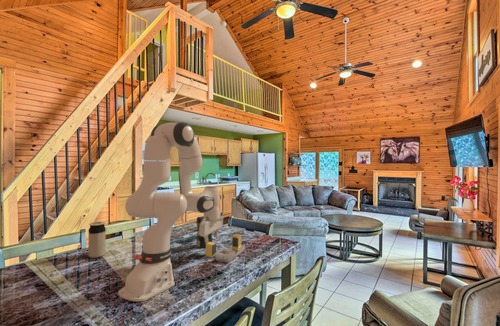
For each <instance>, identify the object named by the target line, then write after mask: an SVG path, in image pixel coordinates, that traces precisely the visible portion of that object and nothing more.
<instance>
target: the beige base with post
mask: <svg viewBox="0 0 500 326" xmlns="http://www.w3.org/2000/svg"><path fill="white" fill-rule="evenodd" d="M231 238H232V240H231V244H232V245H230V246H229V247H228V248H222V249H221V250H218V251H216V255H215V261H216V262H221V263H226V264H230V262H231V261H233V260H234V259H235V258H236V257H237V256H239V255H240V254H241V253H243V252H244V251H245V250H246V245H243V244H242V234H238V233H237V234H236V233H235V234H233V235H232V237H231Z"/></svg>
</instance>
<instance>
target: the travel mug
mask: <svg viewBox="0 0 500 326" xmlns="http://www.w3.org/2000/svg"><path fill="white" fill-rule="evenodd" d="M105 224H106V222H105V221H101V220H99V221H93V222H90V223H89V228H88V257H89V258H93V259H95V258H100V257H103V256H105V255H106V237H107V236H106V235H107V234H106V233H107V232H106V230H107V229H106V228H107V227H105V226H106V225H105Z"/></svg>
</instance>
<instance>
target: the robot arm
mask: <svg viewBox="0 0 500 326" xmlns="http://www.w3.org/2000/svg"><path fill="white" fill-rule="evenodd" d="M197 139H198V138H197V137H196V136H195V131H194V128H193V127H192V125H191V124H189V123H187V122H165V123H160V124H157V125H156V126H155V125H154V127H153V128H152V130H151V133H150V136H149V137H147V138H146V141H145V145H144V150H143V170H142V171H143V172H142V178H141V182H140V184H139V186H138V188H137V190H135V191H134V192H133V193H131V194H130V195H129V196H128V198H127V199H126V201H125V203H124V204H125V207H124V208H125V212H126V214H127V215H128V216H129V217H132V218H137V219H138V218H139V219H157V222H156V223H155V224H153V225H152V226H151V225H150V227H148V228H146V229H145V230H144V232H143V235H142V250H141V253H140V254H135V256H134V260H138V263H137V264H136V265H135V266H134V268H133V269H132V270H131V271H130V272H129V274H128V275H127V276H126V278H125V284H124V286H123V287H122V288H120V289H119V290H118V296H119V297H120V298H121V299H125V300H128V301H130V302H145V301H147V300H149V299H151V298H153V297H155V296H157V295H159V294H161V293H162V292H164V291H166V290H168V289H170V288H172V287H174V286H175V281H174V275H173V274H174V273H173V266H172V262H171V257H172V247H171V234H172V229H173V226H174V225H175V223H176V221H177V220H178V219H180V218H181V217H183V215H184V214H186V212H194V213H200V214H203V216H204V219H202V221H201V223H200V227H199V235H200V236H203V237H204V239H205V243H208V242H209V239H208V235H209V234H210V233H213V237H214V238H217V237H218V236H219V231H220V229H221V228H223V226H224V214H225V213H224V211H221V210H220V201H221V199H220V190H219V188H218V187H215V186H205V188H204V189H203V190H202V192H199V193H194V192H193V190H192V182H191V180H192V179H191V178H192V175H193V174H195V173H197V172H199V171H200V169H201V168H202V167H203V157H202V153H201V152H202V151H201V148H200V145H199V142H198V140H197ZM173 147H174V148H175V147H176V149H177V153H178V158H179V168H178V184H179V193H177V192H158V187H159V186H161V185H163V184H165V183H168V181H169V180H170V178H171V177H172V176H171V171H172V170H171V168H172V167H171V164H172V163H171V162H172V161H171V160H172V159H171V149H172V148H173Z"/></svg>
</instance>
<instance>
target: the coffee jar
mask: <svg viewBox="0 0 500 326" xmlns="http://www.w3.org/2000/svg"><path fill="white" fill-rule="evenodd" d="M202 219H204V215H203V216H197V218H196V228H197V233H196V242H195V243H196V245H195V246H196V247H197V248H201V249H203V248H204V249H205V248H206V243H205V239H204V237H203V236H200V235H199V227H200V223H201V221H202ZM212 233H213V232H212ZM212 233H210V234H209V235H208V239H209V242H213V235H212Z"/></svg>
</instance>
